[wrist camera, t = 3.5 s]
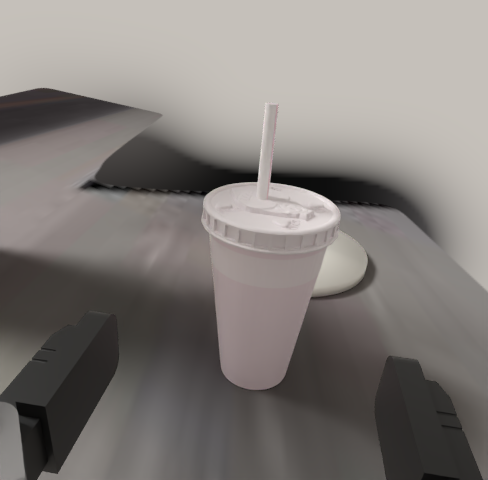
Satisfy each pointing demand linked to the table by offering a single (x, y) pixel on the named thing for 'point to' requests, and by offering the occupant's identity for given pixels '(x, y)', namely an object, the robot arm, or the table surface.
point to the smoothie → (264, 266)
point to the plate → (341, 267)
